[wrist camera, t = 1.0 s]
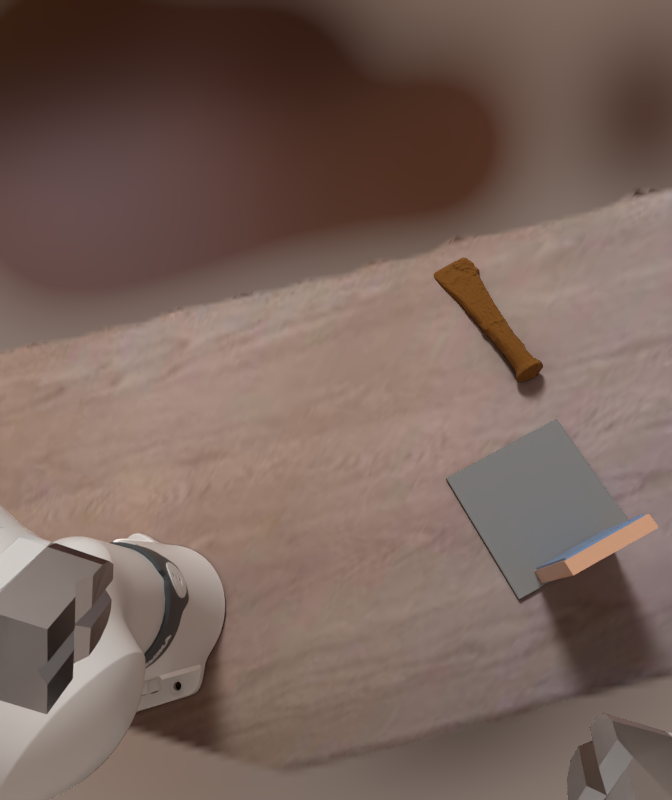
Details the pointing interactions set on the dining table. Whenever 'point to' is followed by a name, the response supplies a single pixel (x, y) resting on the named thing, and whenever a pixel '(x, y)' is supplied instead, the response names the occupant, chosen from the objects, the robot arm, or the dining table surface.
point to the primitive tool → (487, 315)
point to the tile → (595, 548)
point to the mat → (534, 503)
